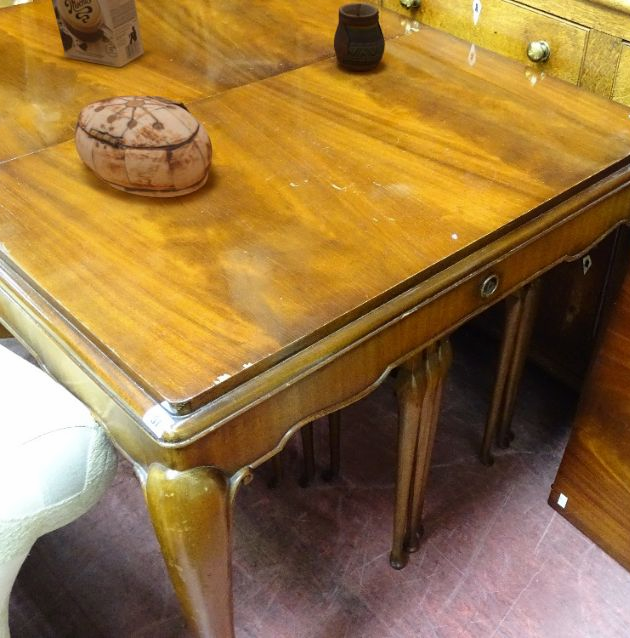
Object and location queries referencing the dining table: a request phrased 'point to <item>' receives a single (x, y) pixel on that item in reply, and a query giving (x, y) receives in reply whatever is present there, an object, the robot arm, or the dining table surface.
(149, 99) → the trinket box
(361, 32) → the mate gourd
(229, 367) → the dining table surface
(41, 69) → the dining table surface
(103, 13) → the coffee box
